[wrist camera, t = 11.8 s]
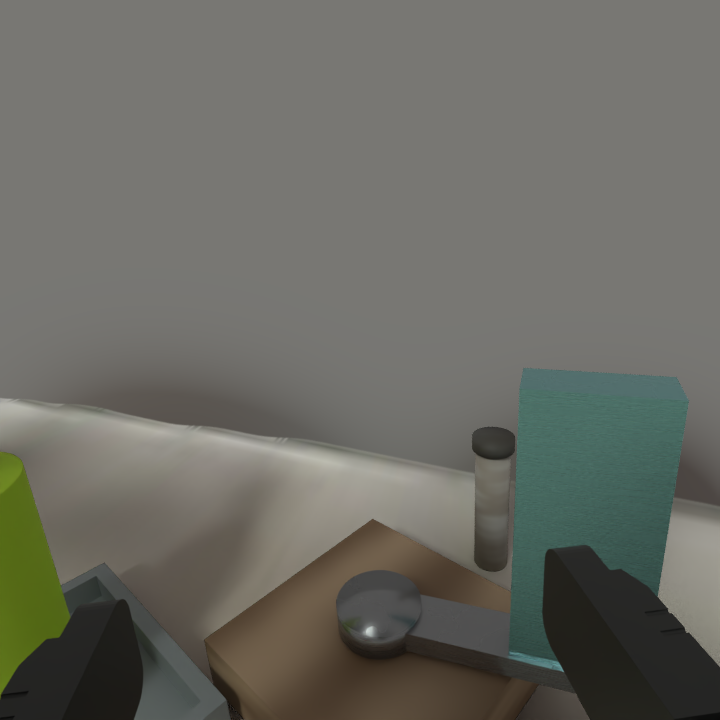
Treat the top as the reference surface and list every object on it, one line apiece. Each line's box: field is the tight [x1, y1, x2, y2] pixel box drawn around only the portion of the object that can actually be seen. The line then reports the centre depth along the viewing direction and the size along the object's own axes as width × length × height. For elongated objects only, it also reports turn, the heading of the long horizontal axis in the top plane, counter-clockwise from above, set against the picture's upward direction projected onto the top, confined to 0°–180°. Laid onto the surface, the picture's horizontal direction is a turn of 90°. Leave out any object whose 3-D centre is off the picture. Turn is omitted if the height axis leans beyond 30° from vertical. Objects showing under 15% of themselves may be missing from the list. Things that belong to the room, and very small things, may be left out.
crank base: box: [204, 427, 539, 720], centre depth 27 cm, size 12×18×9 cm
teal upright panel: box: [336, 368, 689, 693], centre depth 22 cm, size 13×4×13 cm, turn 70°
